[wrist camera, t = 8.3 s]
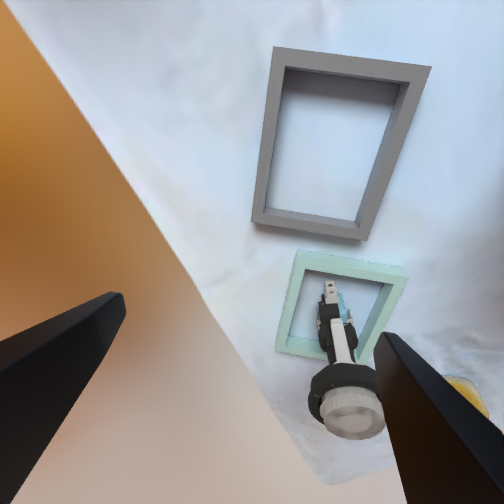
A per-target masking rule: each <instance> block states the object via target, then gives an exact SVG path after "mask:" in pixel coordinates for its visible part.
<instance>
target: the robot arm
mask: <svg viewBox="0 0 504 504" xmlns="http://www.w3.org/2000/svg"><path fill="white" fill-rule="evenodd" d="M125 316H126V307H125V302H124V297H123V295H122V293H119V292H108V293H106V294H103V295H101V296H99V297H97V298H94V299H92V300H90V301H88V302H86V303H84V304H81V305H79V306H77V307H75V308H72V309H70V310H68V311H66V312H64V313H62V314H59V315H57V316H55V317H53V318H51V319H48V320H46V321H44V322H42V323H40V324H37V325H35V326H33V327H31V328H29V329H26V330H24V331H22V332H20V333H18V334H15V335H13V336H11V337H9V338H7V339H4V340H2V341H0V504H10V503H11V502H12V500H13V499H14V497H15V495H16V494H17V492H18V491H19V489H20V488H21V486H22V485H23V483H24V481H25V480H26V478H27V477H28V475H29V474H30V472H31V470H32V469H33V467H34V466H35V464H36V463H37V461H38V460H39V458H40V457H41V455H42V453H43V452H44V450H45V449H46V447H47V446H48V444H49V443H50V441H51V439H52V438H53V436H54V435H55V433H56V432H57V430H58V429H59V427H60V425H61V424H62V422H63V421H64V419H65V417H66V416H67V415H68V413H69V411H70V410H71V408H72V407H73V405H74V404H75V402H76V400H77V399H78V397H79V396H80V394H81V393H82V391H83V390H84V388H85V387H86V385H87V383H88V382H89V380H90V379H91V377H92V375H93V374H94V373H95V371H96V369H97V368H98V366H99V365H100V363H101V362H102V360H103V358H104V357H105V355H106V353H107V351H108V350H109V348H110V346H111V344H112V342H113V340H114V338H115V336H116V334H117V332H118V330H119V328H120V326H121V324H122V322H123V320H124V318H125ZM373 355H374V362H375V369H376V376H377V382H378V389H379V395H380V401H381V405H382V409H383V413H384V417H385V421H386V425H387V428H388V432H389V436H390V440H391V444H392V447H393V451H394V455H395V459H396V463H397V466H398V470H399V473H400V478H401V482H402V485H403V489H404V493H405V497H406V500H407V504H504V434H503V433H502V431H501V430H500V429H499V428H498V427H496V426H495V425H494V424H493V423H492V422H491V421H490V420H489V419H488V418H487V417H486V416H485V415H483V414H482V413H481V412H480V411H479V410H478V409H477V408H476V407H475V406H474V405H473V404H472V403H470V402H469V401H468V400H467V399H466V398H465V397H464V396H463V395H462V394H461V393H460V392H459V391H457V390H456V389H455V388H454V387H453V386H452V385H451V384H450V383H449V382H448V381H447V380H446V379H444V378H443V377H442V376H441V375H440V374H439V373H438V372H437V371H436V370H435V369H434V368H433V367H431V366H430V365H429V364H428V363H427V362H426V361H425V360H424V359H423V358H422V357H421V356H420V355H418V354H417V353H416V352H415V351H414V350H413V349H412V348H411V347H410V346H409V345H408V344H407V343H406V342H404V341H403V340H402V339H401V338H400V337H399V336H398V335H397V334H395V333H391V332H382V333H381V334H380V336H379V338H378V340H377V343H376V345H375V347H374V352H373Z"/></svg>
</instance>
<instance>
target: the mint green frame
mask: <svg viewBox="0 0 504 504" xmlns="http://www.w3.org/2000/svg"><path fill="white" fill-rule="evenodd" d="M305 269H310V270H315V271H321V272H327V273H332V274H338V275H344V276H350V277H355V278H361V279H367V280H373V281H378V282H384V285H383V287H382V289H381V291H380V294H379V296H378V298H377V300H376V303H375V305H374V307H373V309H372V311H371V314H370V316H369V318H368V320H367V323H366V325H365V327H364V329H363V331H362V334H361V336H360V338H359V340H358V346H357V348H356V349H354V357H355V361H356V364H359V365H366V363H367V361H368V359H369V357H370V355H371V353H372V351H373V349H374V347H375V345H376V343H377V340H378V338H379V336H380V334H381V333H382V331H383V329H384V327H385V325H386V323H387V321H388V319H389V317H390V315H391V313H392V311H393V309H394V307H395V305H396V303H397V301H398V299H399V297H400V295H401V293H402V291H403V289H404V287H405V285H406V283H407V281H408V279H409V277H408V276H407V274H406V273H405V271H404V270H403V268H402V267H397V266H391V265H385V264H379V263H373V262H367V261H361V260H356V259H350V258H344V257H338V256H332V255H326V254H320V253H314V252H309V251H303V250H297V252H296V256H295V260H294V265H293V269H292V273H291V277H290V282H289V286H288V290H287V295H286V299H285V303H284V307H283V312H282V316H281V320H280V324H279V329H278V333H277V337H276V347H275V351H279V352H284V353H289V354H294V355H299V356H305V357H310V358H315V359H320V360H325V361H328V357H327V352H324V350H322V349H321V347H320V344H319V341H314V340H308V339H303V338H298V337H293V336H288V333H289V329H290V325H291V321H292V317H293V314H294V310H295V306H296V302H297V298H298V294H299V291H300V287H301V283H302V279H303V275H304V271H305Z"/></svg>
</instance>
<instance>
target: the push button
mask: <svg viewBox="0 0 504 504" xmlns="http://www.w3.org/2000/svg"><path fill="white" fill-rule="evenodd" d="M328 284H332V285H333V286H332V287H328ZM325 287H326V291H324V295H322V302H318V304H319V313H320V321H318V316H317V324H318V330H319V331H318V337H319V344H320V347H321V349H322V350H324V352H327V357H328V361H329V365H328V366H326V367H325V368H324V369H322V370H321V371H320V372H319V373H318V374H316V375H315V376H314V377H313V378H312V382H311V391H310V393H309V396H308V406H309V410H310V412H311V414H312V415H313V417H314V418H315V419H316V420H318V421H319V422H321V423H322V424H324V425H325V426H326V428H327V430H328V431H329V432H331V433H333V434H334V435H336V436H338V437H341V438H345V439H352V440H363V439H368V438H372V437H374V436H376V435H378V434H379V433H381V432H382V431H383V429H384V427H385V425H386V424H385V423H386V421H385V417H384V413H383V409H382V405H381V401H380V395H379V389H378V382H377V376H376V371H375V370H374V369H372V368H370V367H368V366H366V365H359V364H356V361H355V357H354V349H356V348H357V346H358V338H357V335H356V331H355V328H354V327H353V318H352V315H351V311H350V309H349V319H346V318H347V313H346V308H345V306H344V302H343V298H342V294H341V293H338V294H337V290H336V287H335V281H334V280H330V281H325ZM316 315H317V311H316Z"/></svg>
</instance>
